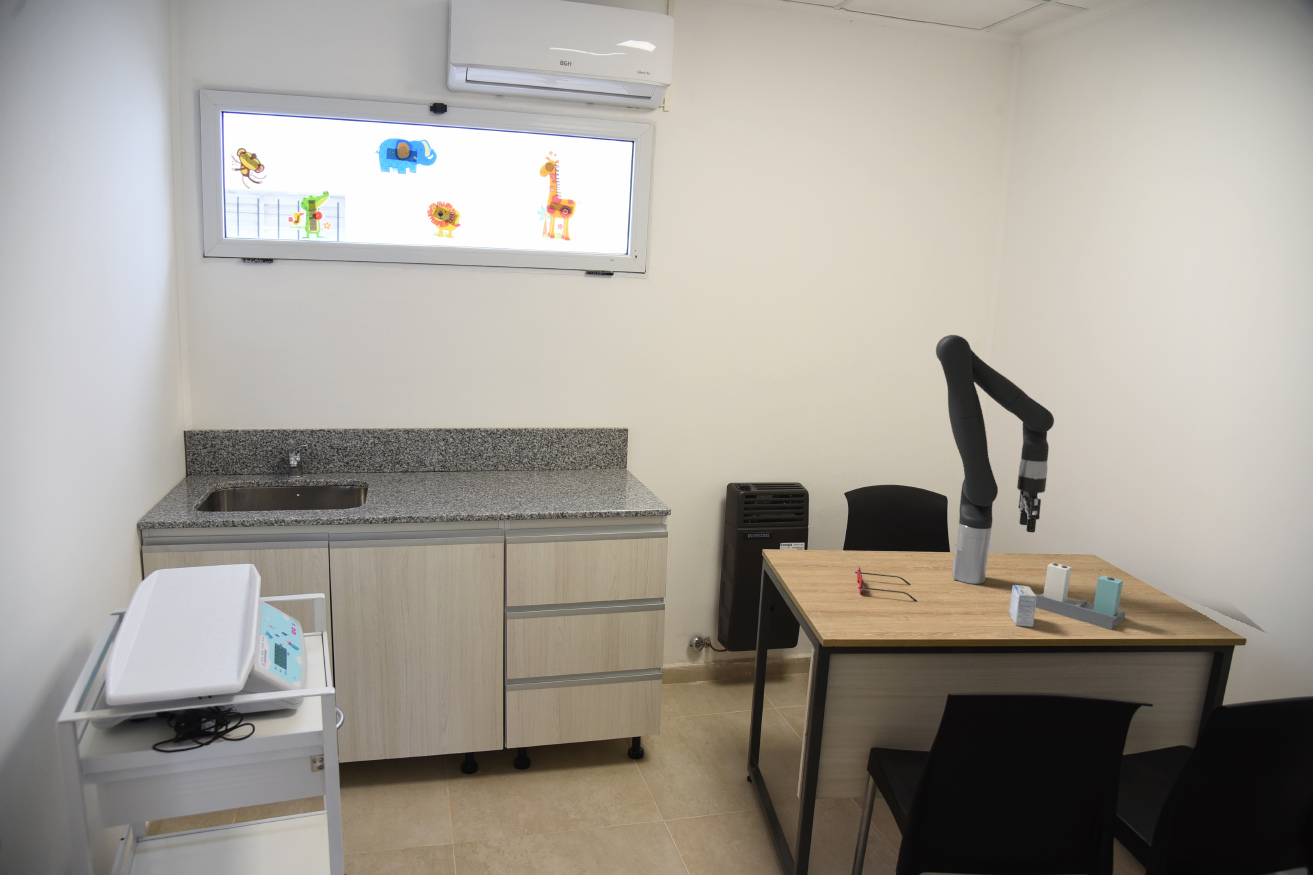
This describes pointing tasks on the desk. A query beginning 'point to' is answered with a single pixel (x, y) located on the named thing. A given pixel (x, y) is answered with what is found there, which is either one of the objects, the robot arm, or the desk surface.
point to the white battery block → (1057, 582)
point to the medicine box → (1022, 606)
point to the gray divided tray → (1079, 611)
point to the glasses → (877, 589)
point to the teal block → (1108, 595)
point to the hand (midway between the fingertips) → (1026, 528)
